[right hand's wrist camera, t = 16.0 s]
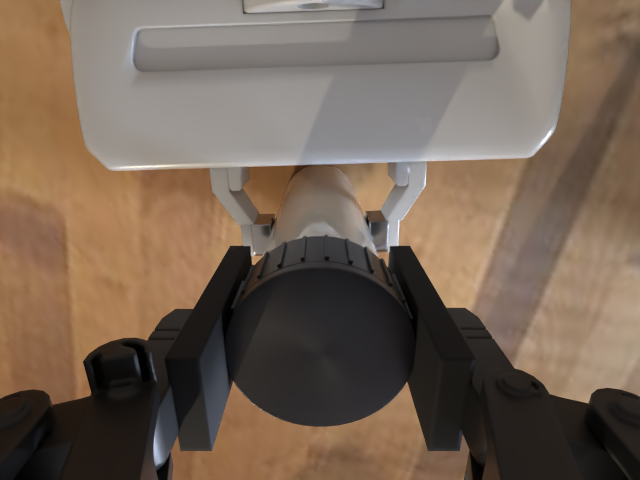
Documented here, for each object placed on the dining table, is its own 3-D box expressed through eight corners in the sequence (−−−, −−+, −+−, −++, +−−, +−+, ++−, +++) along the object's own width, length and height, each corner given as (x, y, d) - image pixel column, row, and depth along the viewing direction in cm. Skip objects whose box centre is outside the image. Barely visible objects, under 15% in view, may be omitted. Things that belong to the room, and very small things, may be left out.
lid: (248, 219, 11) (231, 247, 9) (422, 250, 12) (445, 284, 10) (229, 363, 13) (212, 414, 11) (380, 386, 14) (391, 440, 12)
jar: (296, 154, 25) (261, 245, 10) (366, 177, 25) (431, 297, 10) (276, 221, 26) (219, 386, 11) (342, 241, 27) (368, 424, 12)
